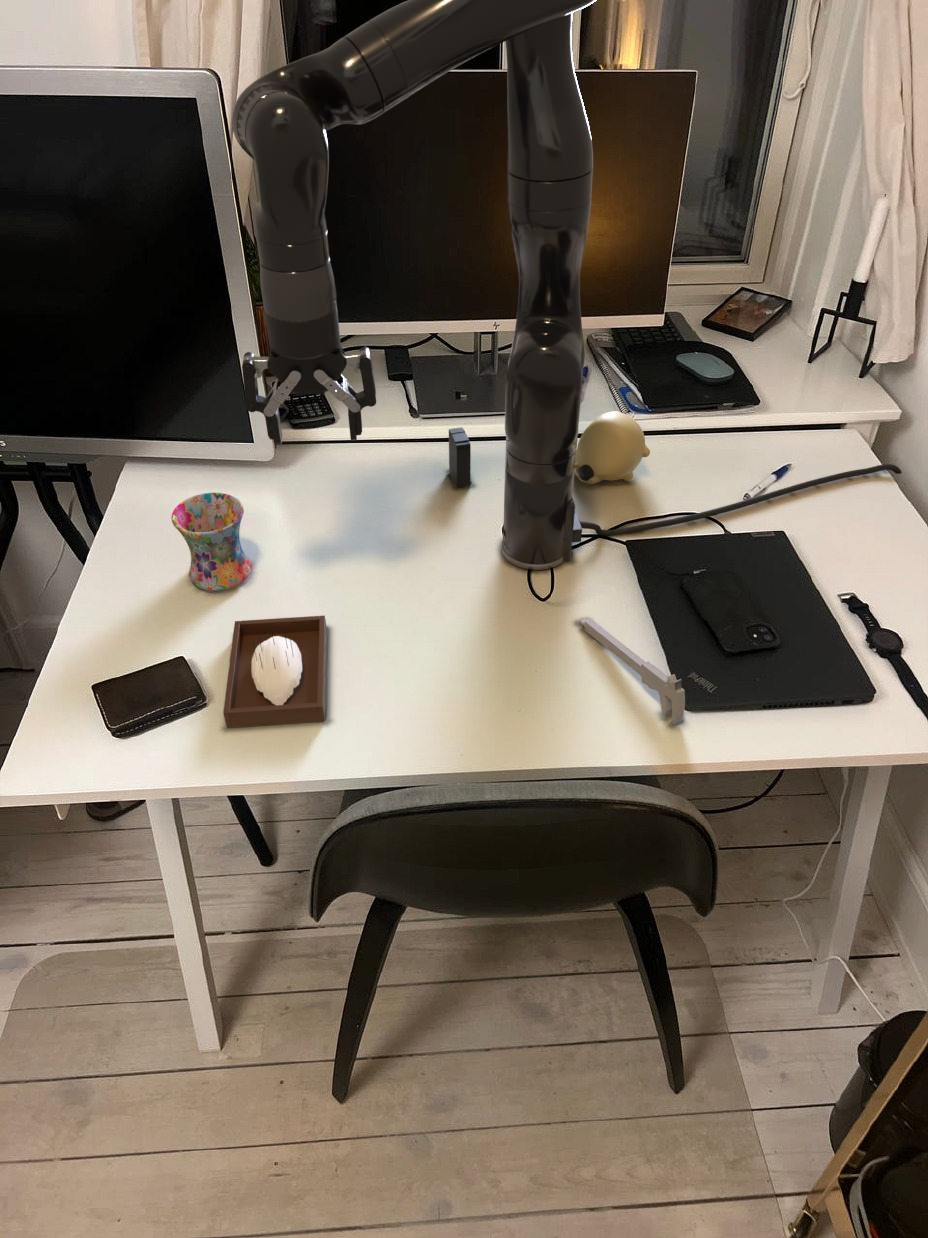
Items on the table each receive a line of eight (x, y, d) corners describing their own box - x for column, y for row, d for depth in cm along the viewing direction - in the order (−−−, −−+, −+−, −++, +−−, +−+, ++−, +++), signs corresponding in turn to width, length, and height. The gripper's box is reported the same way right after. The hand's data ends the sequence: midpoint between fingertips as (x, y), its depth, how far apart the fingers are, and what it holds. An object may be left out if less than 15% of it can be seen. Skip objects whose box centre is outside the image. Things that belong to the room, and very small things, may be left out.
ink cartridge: (471, 486, 149) (471, 442, 143) (456, 489, 148) (456, 444, 143) (463, 469, 152) (463, 425, 147) (449, 471, 152) (448, 427, 147)
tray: (326, 630, 125) (324, 615, 123) (325, 721, 113) (322, 706, 111) (238, 635, 124) (234, 620, 122) (226, 728, 112) (223, 713, 110)
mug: (253, 594, 130) (240, 531, 123) (183, 598, 129) (166, 535, 122) (258, 540, 139) (247, 478, 132) (193, 544, 138) (178, 482, 131)
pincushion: (252, 642, 122) (245, 609, 118) (301, 637, 123) (295, 603, 119) (253, 711, 113) (246, 677, 109) (305, 705, 114) (300, 671, 110)
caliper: (681, 724, 112) (689, 686, 108) (674, 727, 112) (682, 690, 108) (585, 620, 126) (589, 584, 122) (578, 623, 125) (582, 586, 121)
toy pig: (597, 477, 157) (551, 441, 152) (652, 427, 152) (606, 387, 147) (608, 511, 150) (560, 473, 145) (666, 459, 144) (619, 418, 139)
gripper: (227, 321, 96) (251, 459, 107) (369, 315, 97) (379, 453, 108) (233, 290, 102) (256, 425, 113) (368, 284, 103) (377, 418, 113)
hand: (316, 438), depth 110 cm, fingers open, 8 cm apart
